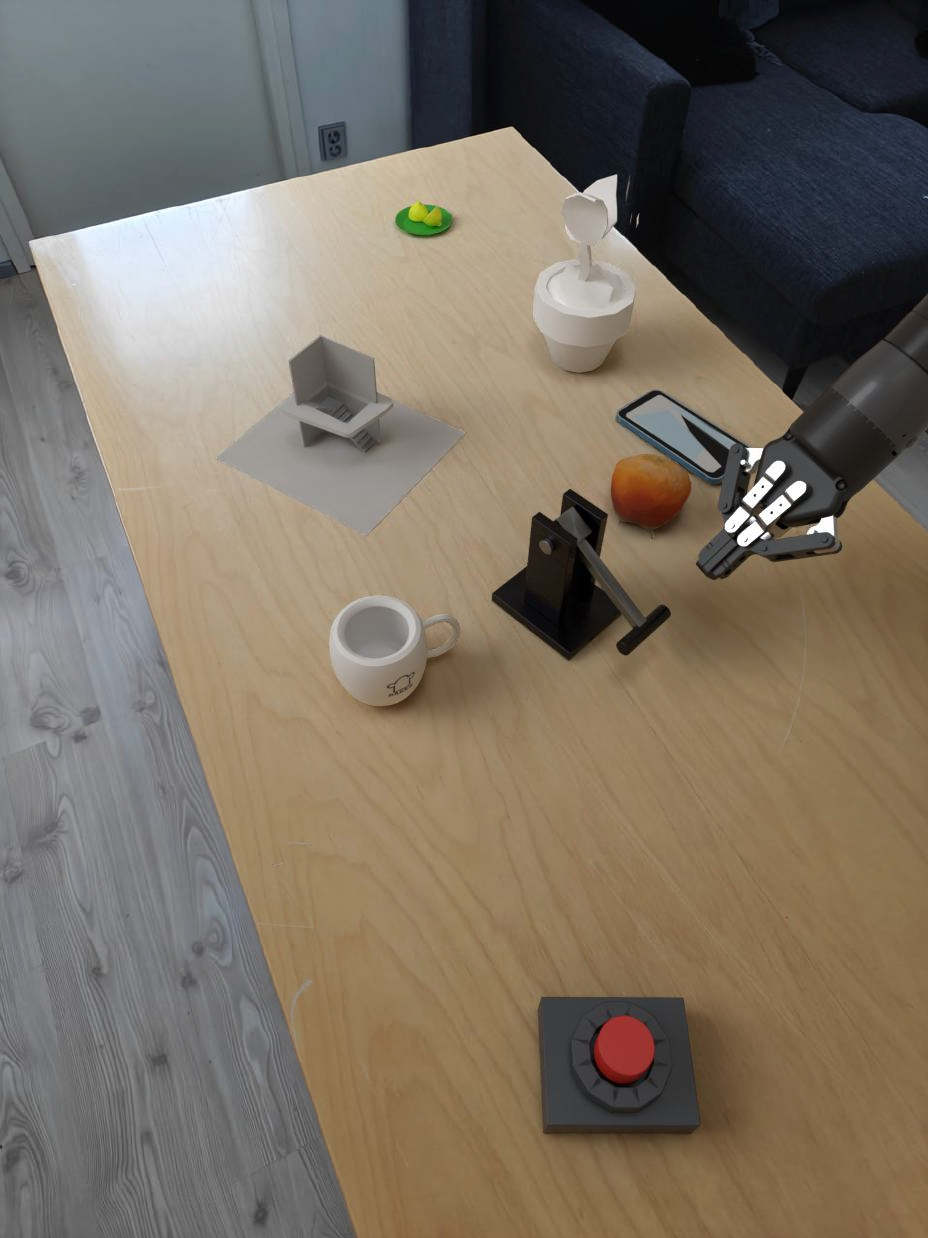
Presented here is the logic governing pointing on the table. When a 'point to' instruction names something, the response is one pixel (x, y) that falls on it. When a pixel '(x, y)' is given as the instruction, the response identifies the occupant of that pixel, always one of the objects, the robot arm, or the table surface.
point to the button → (624, 1049)
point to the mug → (383, 648)
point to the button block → (597, 1102)
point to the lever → (613, 586)
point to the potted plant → (585, 286)
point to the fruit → (648, 490)
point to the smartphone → (680, 433)
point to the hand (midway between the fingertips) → (705, 572)
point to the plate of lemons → (423, 219)
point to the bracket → (560, 583)
